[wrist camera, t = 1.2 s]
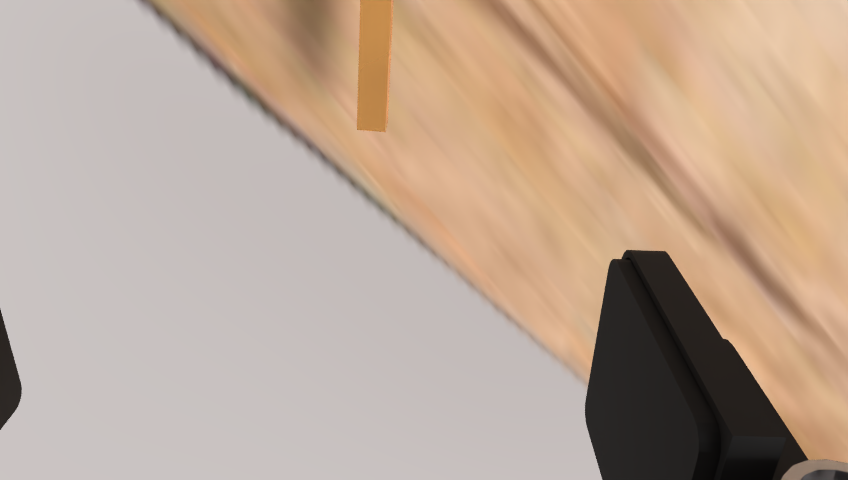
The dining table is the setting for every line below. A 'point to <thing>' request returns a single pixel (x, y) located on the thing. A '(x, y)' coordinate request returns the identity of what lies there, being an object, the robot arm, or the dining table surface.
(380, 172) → the dining table surface
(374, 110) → the orange stick
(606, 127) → the dining table surface
